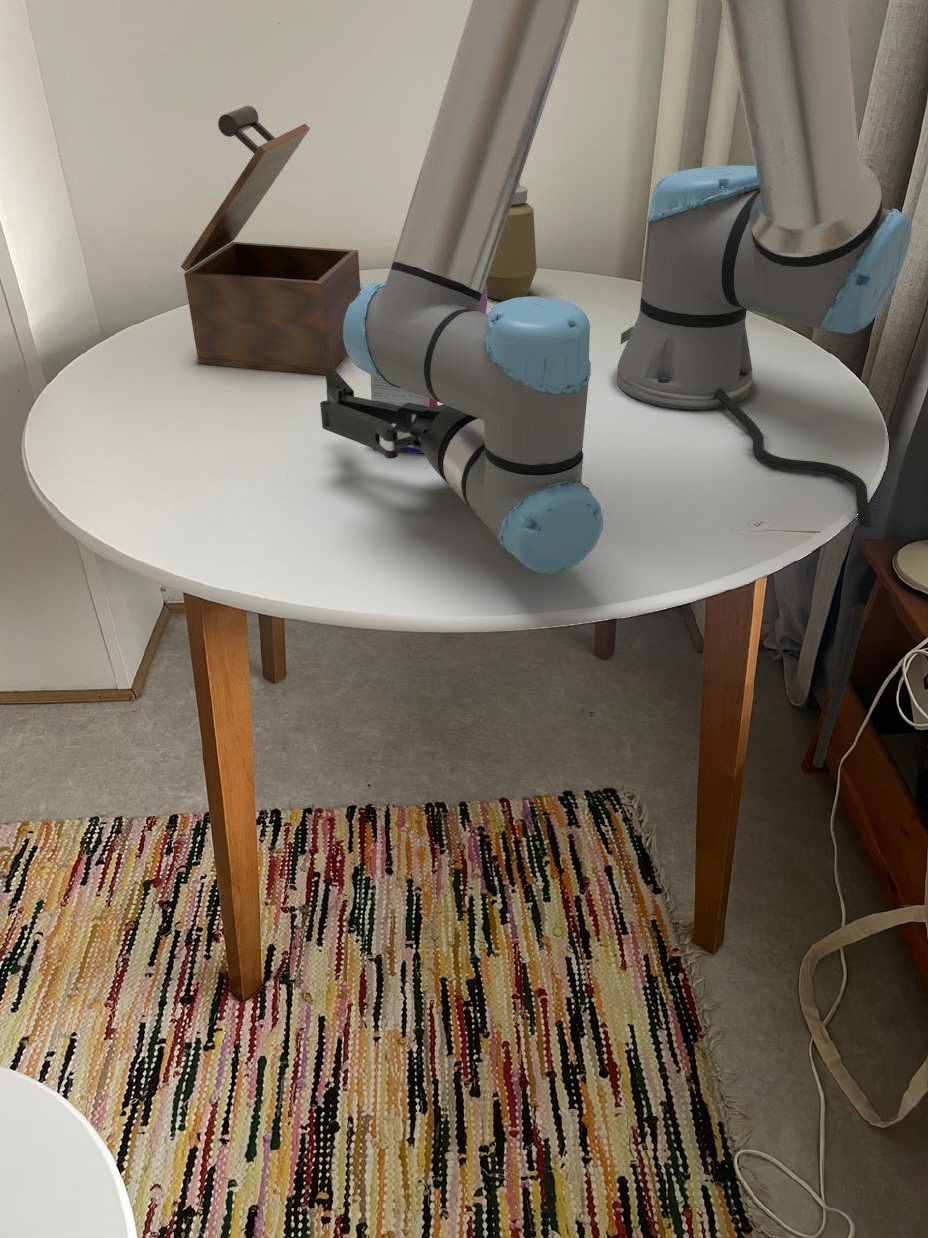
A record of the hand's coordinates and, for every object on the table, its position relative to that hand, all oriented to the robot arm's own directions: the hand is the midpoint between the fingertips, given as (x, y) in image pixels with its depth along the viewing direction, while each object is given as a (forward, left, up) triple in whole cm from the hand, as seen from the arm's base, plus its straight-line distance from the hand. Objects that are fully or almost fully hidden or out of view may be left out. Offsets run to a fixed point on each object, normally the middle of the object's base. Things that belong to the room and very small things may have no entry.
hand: (393, 369), depth 102 cm
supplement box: (-3, -1, -7) cm, 7 cm away
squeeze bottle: (+40, -24, -7) cm, 47 cm away
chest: (+26, +9, -7) cm, 28 cm away
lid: (+27, +12, +11) cm, 31 cm away
